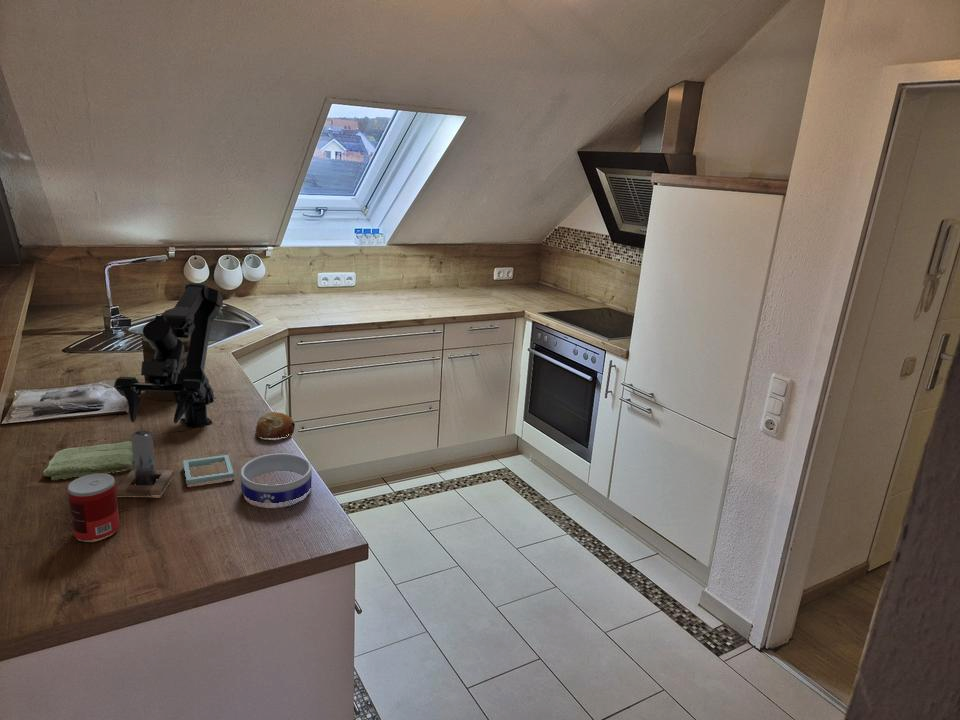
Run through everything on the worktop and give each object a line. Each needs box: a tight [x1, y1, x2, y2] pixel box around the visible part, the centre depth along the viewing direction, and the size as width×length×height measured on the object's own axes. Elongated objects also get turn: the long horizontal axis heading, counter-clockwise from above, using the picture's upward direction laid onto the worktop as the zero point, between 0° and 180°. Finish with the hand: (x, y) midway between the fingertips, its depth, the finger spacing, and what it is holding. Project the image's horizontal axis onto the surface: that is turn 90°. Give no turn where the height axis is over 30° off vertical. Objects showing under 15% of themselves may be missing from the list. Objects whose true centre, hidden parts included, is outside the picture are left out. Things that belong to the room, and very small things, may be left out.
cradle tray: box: [182, 454, 235, 485], centre depth 150 cm, size 10×10×2 cm
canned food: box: [67, 473, 121, 540], centre depth 125 cm, size 8×8×11 cm
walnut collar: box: [116, 469, 175, 496], centre depth 143 cm, size 9×9×2 cm
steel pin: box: [130, 430, 156, 485], centre depth 141 cm, size 4×4×13 cm
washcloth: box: [43, 440, 134, 481], centre depth 151 cm, size 13×18×3 cm
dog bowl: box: [240, 452, 313, 503], centre depth 145 cm, size 15×15×6 cm
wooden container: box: [141, 334, 191, 402], centre depth 192 cm, size 15×15×22 cm
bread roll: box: [255, 411, 296, 438], centre depth 174 cm, size 10×10×8 cm
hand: (153, 422), depth 146 cm, fingers open, 9 cm apart
